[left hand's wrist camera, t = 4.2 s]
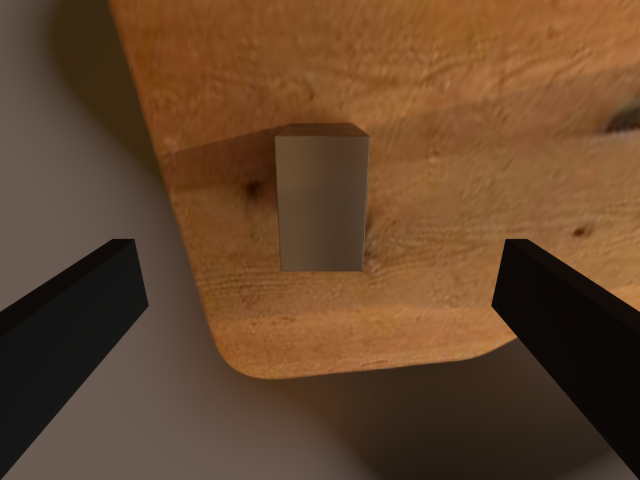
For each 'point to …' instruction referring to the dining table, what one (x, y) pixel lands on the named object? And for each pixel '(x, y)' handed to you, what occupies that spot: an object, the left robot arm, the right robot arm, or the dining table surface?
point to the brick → (321, 196)
